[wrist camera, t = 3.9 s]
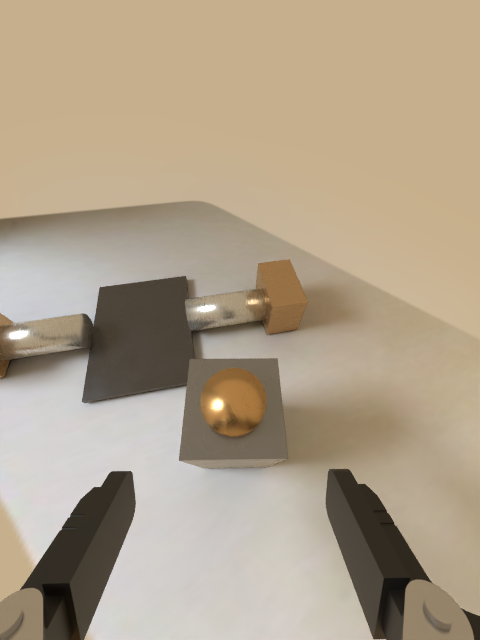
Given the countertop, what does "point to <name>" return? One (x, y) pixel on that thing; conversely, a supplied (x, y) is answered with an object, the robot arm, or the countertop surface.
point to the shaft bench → (153, 329)
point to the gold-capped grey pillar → (233, 414)
